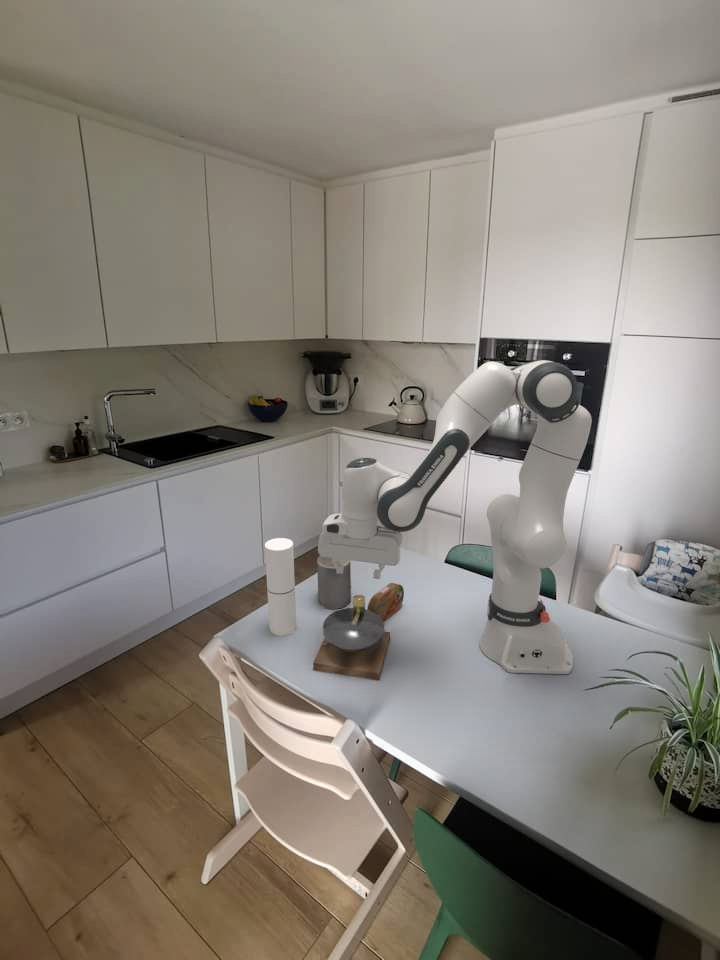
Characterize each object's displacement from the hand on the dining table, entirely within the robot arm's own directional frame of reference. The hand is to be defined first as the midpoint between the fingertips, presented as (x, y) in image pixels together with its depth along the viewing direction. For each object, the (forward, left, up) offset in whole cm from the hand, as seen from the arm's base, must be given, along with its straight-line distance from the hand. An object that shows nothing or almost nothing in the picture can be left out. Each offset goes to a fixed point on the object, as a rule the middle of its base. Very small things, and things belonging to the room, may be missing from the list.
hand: (358, 575), depth 124 cm
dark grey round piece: (0, +6, -13) cm, 14 cm away
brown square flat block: (0, +6, -19) cm, 20 cm away
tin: (-5, -12, -19) cm, 23 cm away
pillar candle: (+11, -16, -19) cm, 27 cm away
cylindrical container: (+21, 0, -19) cm, 28 cm away
